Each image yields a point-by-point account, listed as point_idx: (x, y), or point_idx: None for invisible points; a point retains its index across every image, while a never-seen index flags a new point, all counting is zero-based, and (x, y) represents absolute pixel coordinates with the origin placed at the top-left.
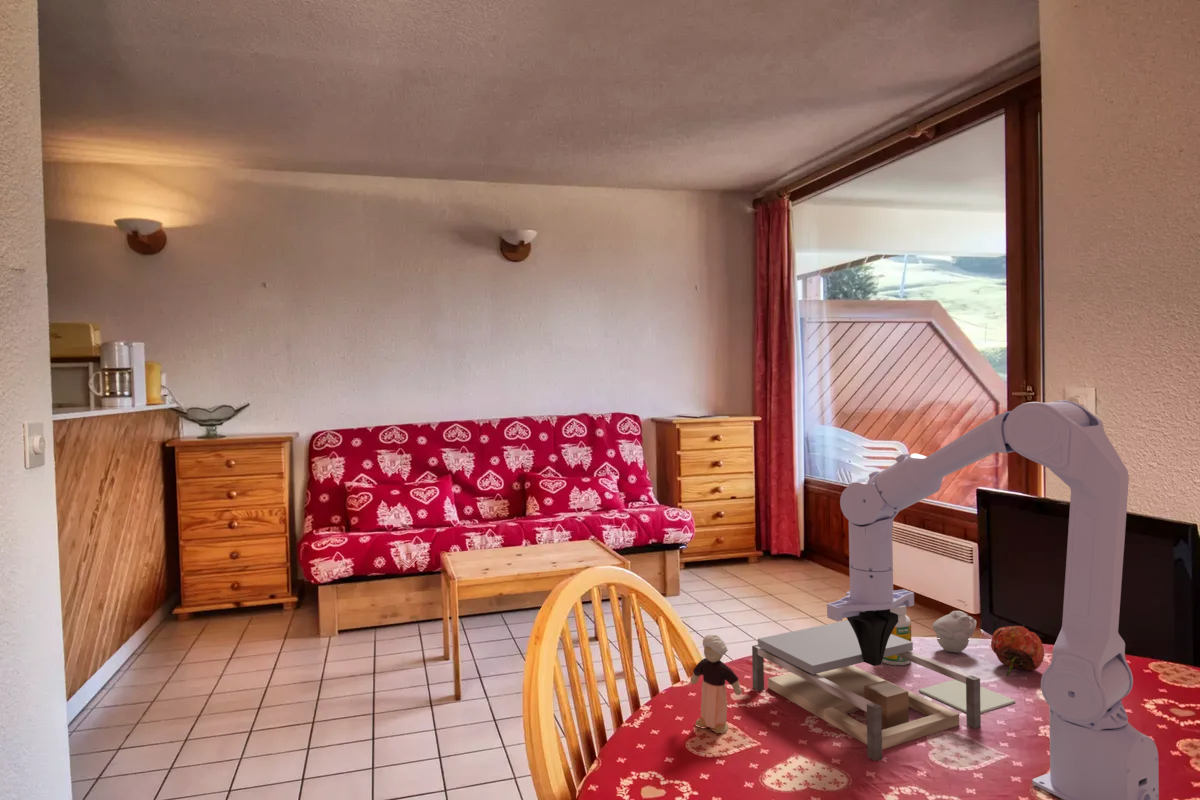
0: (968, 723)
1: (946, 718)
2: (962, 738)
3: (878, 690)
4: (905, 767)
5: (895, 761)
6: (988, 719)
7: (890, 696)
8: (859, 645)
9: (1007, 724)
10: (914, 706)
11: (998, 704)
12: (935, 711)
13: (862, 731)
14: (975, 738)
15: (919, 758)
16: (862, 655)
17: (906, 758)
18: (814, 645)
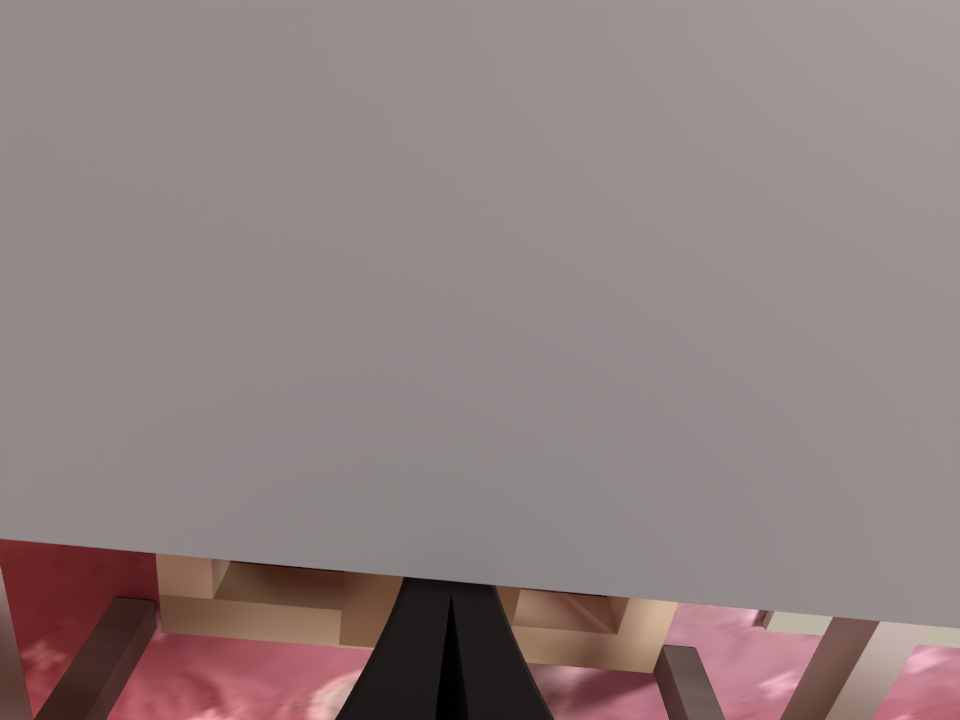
0: (661, 659)
1: (575, 664)
2: (544, 680)
3: (369, 583)
4: (190, 685)
5: (189, 654)
6: (771, 658)
7: (366, 645)
8: (373, 650)
9: (775, 701)
10: None
11: (927, 639)
12: (622, 600)
13: (157, 566)
14: (580, 698)
15: (284, 679)
16: (401, 587)
17: (242, 661)
18: (148, 133)
